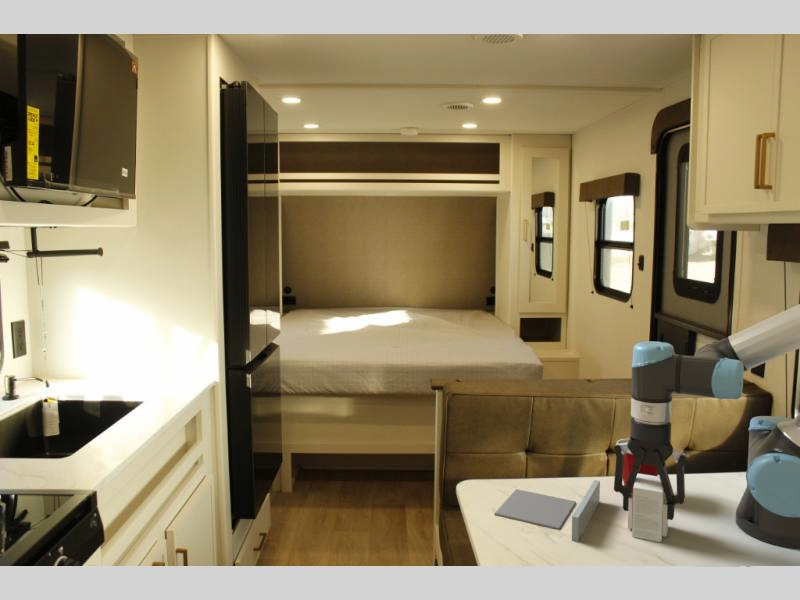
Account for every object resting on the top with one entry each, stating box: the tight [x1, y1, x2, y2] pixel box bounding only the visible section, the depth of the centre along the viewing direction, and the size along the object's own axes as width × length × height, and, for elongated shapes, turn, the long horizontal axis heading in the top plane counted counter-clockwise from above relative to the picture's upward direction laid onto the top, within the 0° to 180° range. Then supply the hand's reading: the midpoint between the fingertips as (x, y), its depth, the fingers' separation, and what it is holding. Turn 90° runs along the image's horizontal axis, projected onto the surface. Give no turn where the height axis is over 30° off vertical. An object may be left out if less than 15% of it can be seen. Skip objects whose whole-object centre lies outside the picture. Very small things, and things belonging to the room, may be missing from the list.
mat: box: [494, 488, 577, 531], centre depth 132 cm, size 14×14×1 cm
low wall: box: [571, 479, 601, 543], centre depth 126 cm, size 1×20×5 cm, turn 150°
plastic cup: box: [616, 438, 659, 493], centre depth 137 cm, size 11×11×12 cm
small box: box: [631, 474, 665, 543], centre depth 121 cm, size 8×6×10 cm
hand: (647, 529), depth 121 cm, fingers closed on small box, 6 cm apart
